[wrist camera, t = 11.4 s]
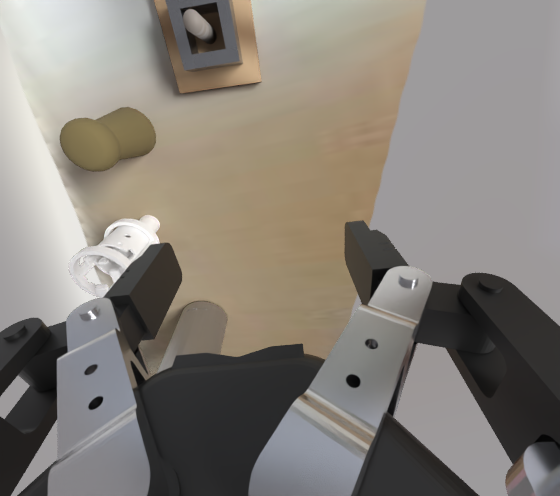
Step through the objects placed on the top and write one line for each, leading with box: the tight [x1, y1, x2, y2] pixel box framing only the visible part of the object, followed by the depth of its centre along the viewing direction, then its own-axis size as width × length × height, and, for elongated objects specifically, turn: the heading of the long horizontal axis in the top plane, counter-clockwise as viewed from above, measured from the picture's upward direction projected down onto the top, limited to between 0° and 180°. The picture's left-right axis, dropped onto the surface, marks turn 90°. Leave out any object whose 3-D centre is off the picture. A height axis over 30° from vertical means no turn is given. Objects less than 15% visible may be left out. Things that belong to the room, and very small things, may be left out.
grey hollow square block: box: [165, 0, 243, 72], centre depth 27 cm, size 6×6×4 cm
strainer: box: [69, 215, 160, 298], centre depth 36 cm, size 7×7×15 cm
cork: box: [60, 107, 156, 172], centre depth 30 cm, size 6×6×11 cm
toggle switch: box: [154, 0, 261, 93], centre depth 26 cm, size 10×10×8 cm
